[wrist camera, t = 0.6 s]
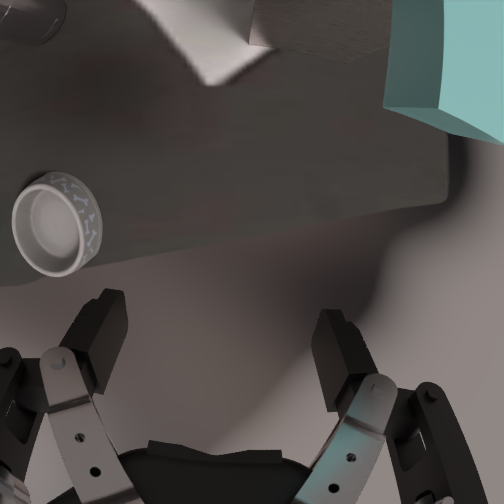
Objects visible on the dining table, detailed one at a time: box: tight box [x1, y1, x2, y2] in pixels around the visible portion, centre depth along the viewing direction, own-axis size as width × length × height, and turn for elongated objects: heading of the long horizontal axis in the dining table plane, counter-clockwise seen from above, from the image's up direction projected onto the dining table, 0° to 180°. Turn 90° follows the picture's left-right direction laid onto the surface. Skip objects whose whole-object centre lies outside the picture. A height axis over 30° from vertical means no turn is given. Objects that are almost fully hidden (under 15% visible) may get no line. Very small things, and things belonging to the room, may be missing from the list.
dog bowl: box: [12, 172, 102, 277], centre depth 41 cm, size 17×18×5 cm
